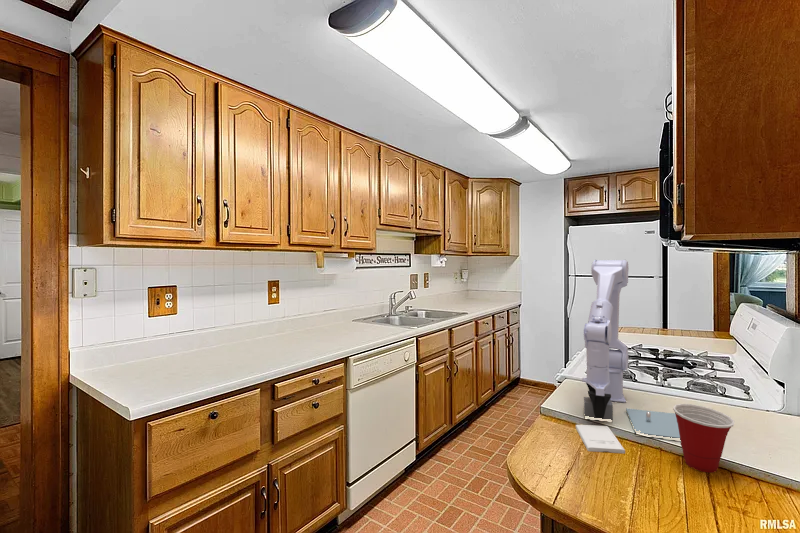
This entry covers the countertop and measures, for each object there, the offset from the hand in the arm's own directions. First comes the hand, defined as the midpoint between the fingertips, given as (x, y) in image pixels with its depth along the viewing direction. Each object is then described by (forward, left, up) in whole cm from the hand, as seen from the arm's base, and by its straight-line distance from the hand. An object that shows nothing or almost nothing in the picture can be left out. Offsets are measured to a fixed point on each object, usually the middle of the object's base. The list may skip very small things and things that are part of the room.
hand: (597, 412), depth 113 cm
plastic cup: (+20, +19, -2) cm, 28 cm away
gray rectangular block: (0, 0, -2) cm, 2 cm away
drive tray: (+1, +17, -2) cm, 17 cm away
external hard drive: (+14, -1, -3) cm, 14 cm away
